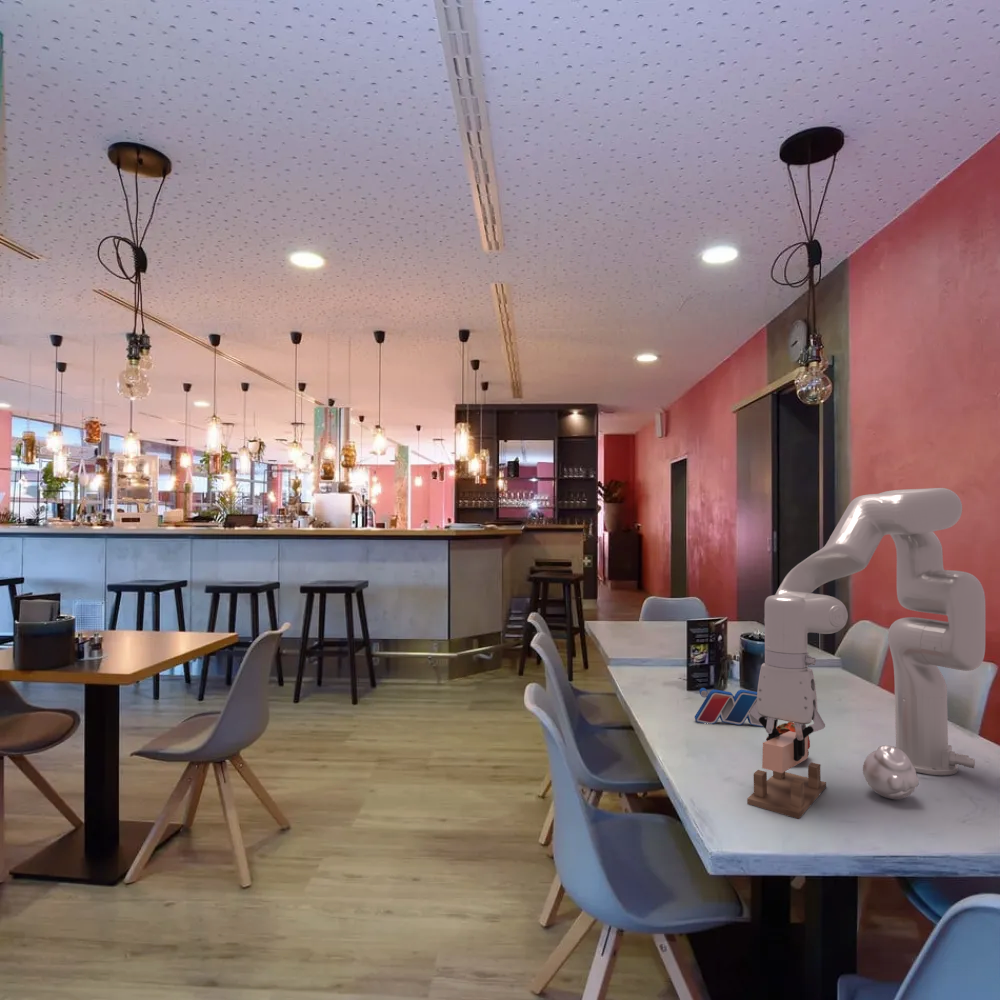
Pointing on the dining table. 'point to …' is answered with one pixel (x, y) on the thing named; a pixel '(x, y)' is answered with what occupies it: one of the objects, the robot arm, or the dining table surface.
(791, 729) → the dragon fruit
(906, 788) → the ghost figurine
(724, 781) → the dining table surface
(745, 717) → the logo
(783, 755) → the clay strip
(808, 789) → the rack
